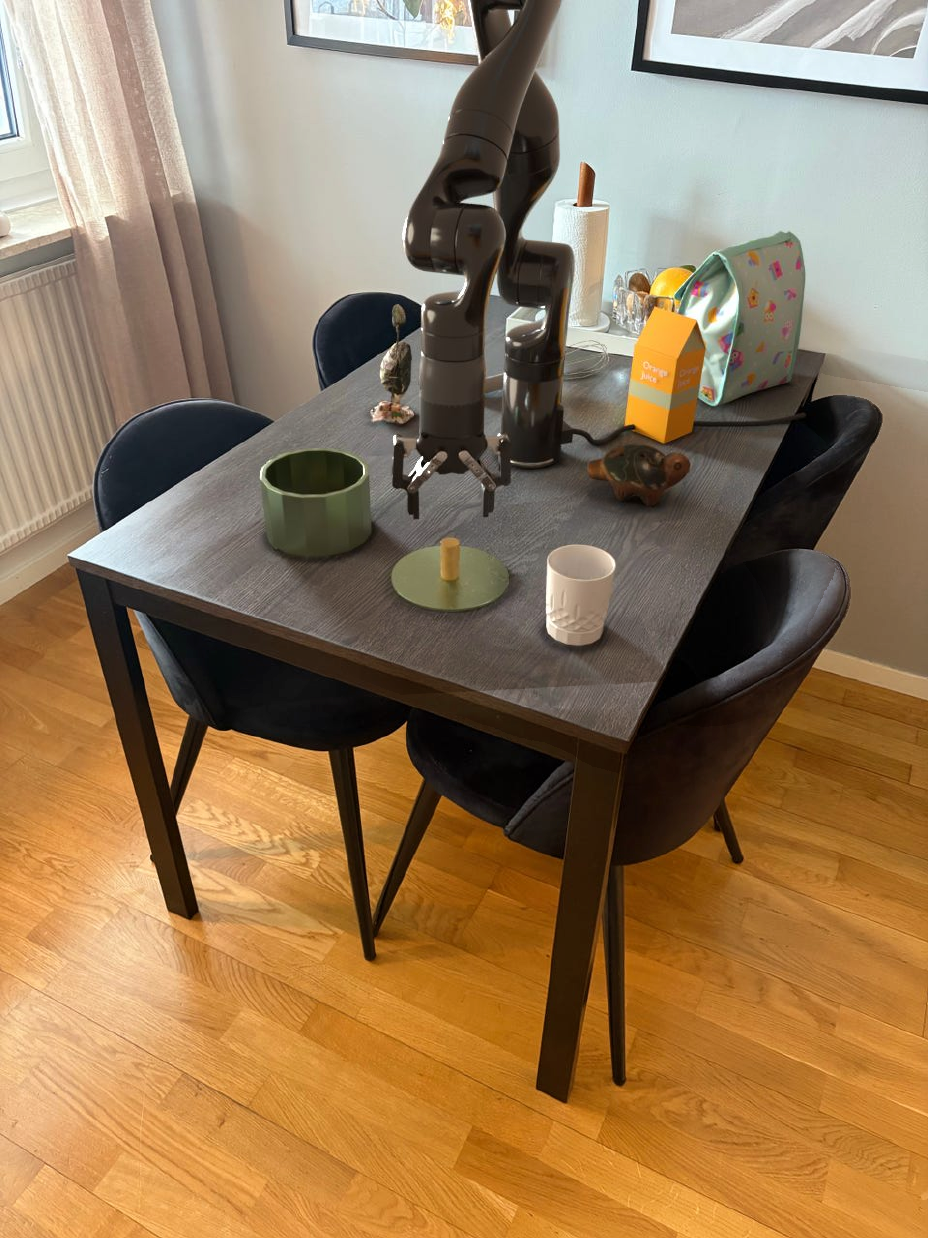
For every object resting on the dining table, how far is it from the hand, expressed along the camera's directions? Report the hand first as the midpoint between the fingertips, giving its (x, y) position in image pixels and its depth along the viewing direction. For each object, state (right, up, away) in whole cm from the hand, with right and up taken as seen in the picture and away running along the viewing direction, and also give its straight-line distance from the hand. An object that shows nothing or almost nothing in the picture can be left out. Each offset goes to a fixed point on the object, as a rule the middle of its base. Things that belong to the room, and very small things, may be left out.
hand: (450, 515), depth 118 cm
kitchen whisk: (+15, +31, +61) cm, 70 cm away
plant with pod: (-11, +23, +49) cm, 55 cm away
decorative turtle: (+27, +6, +27) cm, 39 cm away
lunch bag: (+51, +31, +63) cm, 87 cm away
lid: (0, -8, +6) cm, 9 cm away
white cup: (+15, -15, -2) cm, 21 cm away
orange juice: (+35, +20, +46) cm, 61 cm away
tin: (-18, -1, +16) cm, 24 cm away
